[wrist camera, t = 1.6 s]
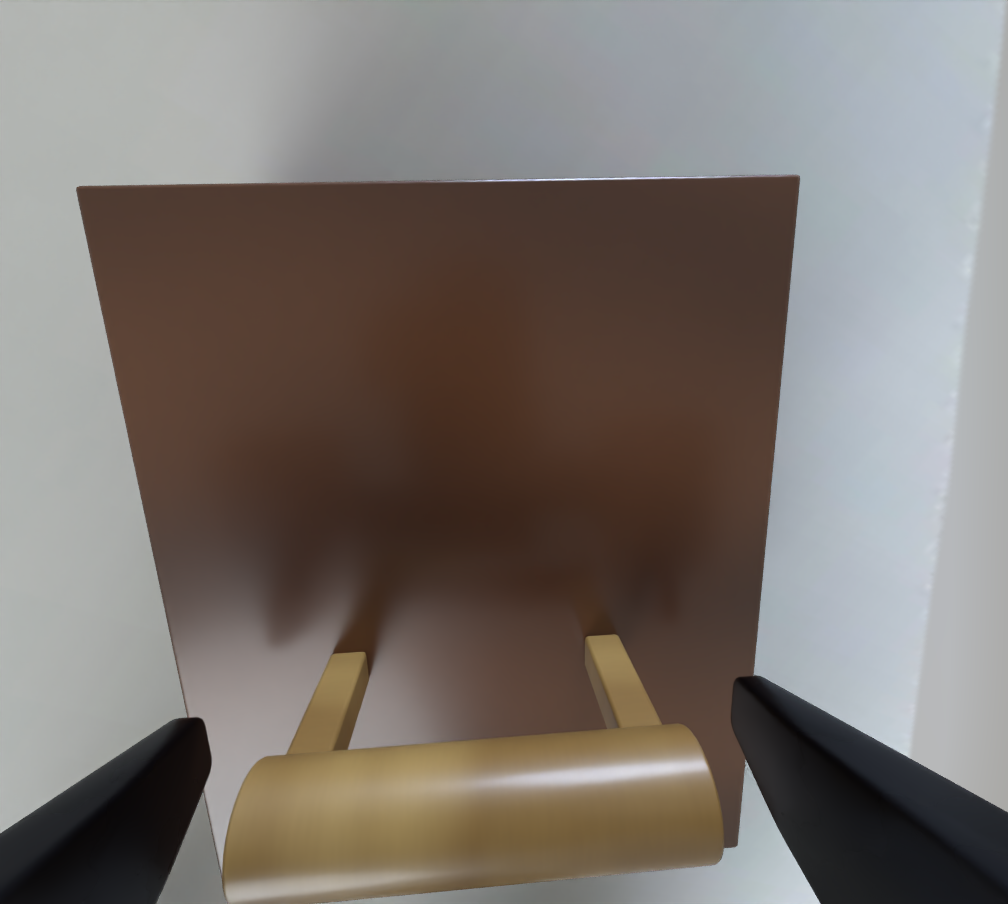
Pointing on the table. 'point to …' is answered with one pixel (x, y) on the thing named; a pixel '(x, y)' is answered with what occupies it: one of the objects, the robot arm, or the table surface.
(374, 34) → the table surface
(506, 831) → the lid
